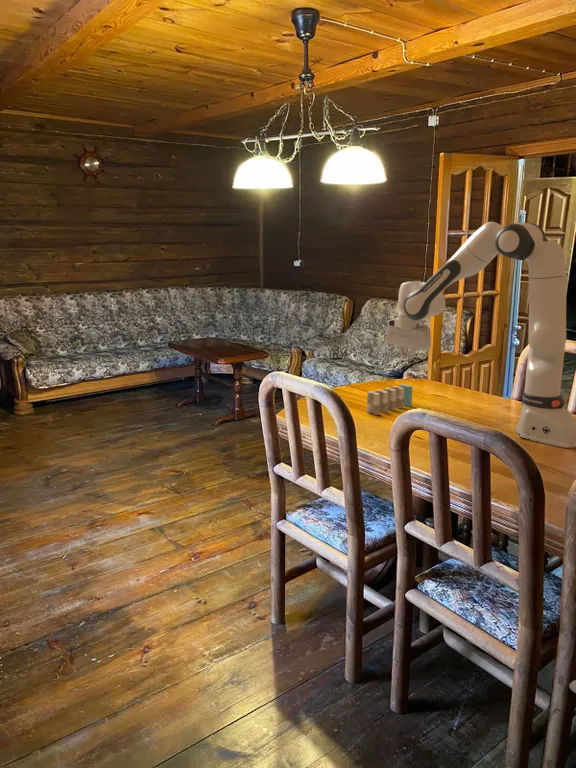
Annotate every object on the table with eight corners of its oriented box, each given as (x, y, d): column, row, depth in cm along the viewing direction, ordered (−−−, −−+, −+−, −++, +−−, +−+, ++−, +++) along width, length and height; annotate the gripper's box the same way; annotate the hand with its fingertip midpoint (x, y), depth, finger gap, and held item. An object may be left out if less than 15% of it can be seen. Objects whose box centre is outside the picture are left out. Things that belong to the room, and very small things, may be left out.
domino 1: (379, 414, 224) (379, 393, 222) (375, 415, 223) (376, 394, 221) (370, 411, 228) (371, 391, 226) (366, 412, 227) (367, 392, 225)
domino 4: (403, 407, 232) (404, 388, 230) (400, 408, 231) (400, 388, 229) (394, 405, 236) (395, 385, 234) (391, 406, 235) (392, 386, 233)
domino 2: (387, 411, 227) (388, 391, 225) (383, 412, 226) (384, 392, 224) (378, 409, 231) (379, 389, 229) (375, 410, 229) (375, 390, 227)
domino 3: (395, 409, 230) (396, 389, 228) (392, 410, 228) (392, 390, 226) (387, 407, 233) (387, 387, 231) (383, 408, 232) (384, 388, 230)
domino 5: (411, 405, 235) (412, 386, 233) (408, 406, 234) (409, 387, 232) (402, 403, 238) (403, 384, 236) (399, 404, 237) (400, 384, 235)
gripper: (435, 325, 222) (433, 361, 225) (395, 319, 238) (393, 353, 241) (424, 326, 218) (422, 363, 222) (384, 320, 234) (383, 355, 237)
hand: (407, 358), depth 231 cm, fingers open, 2 cm apart
